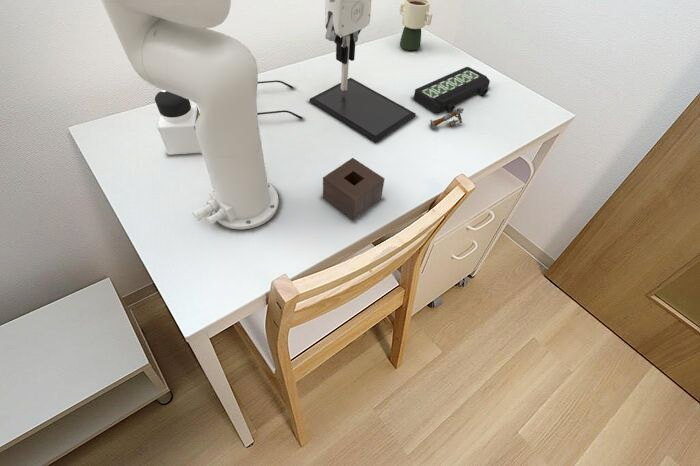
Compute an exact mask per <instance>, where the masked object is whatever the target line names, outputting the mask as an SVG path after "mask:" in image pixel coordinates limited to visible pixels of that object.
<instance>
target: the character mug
mask: <svg viewBox="0 0 700 466" xmlns="http://www.w3.org/2000/svg"><path fill="white" fill-rule="evenodd" d="M430 5H431V1H430V0H404V1H400V5H399V11H398V12H399V15H402V17H401V24H402V25H403V26H404V27H403V30H402V32H401V37H400V40H399V46H400V47H401V48H402V49H404V50H408V51H414V50H417V49H420V48H421V43H422V29H423V28H424V27H425V26H428V27H429V26H430V25H431V23H432V19H433V13H431V12H430V8H431V7H430Z"/></svg>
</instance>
